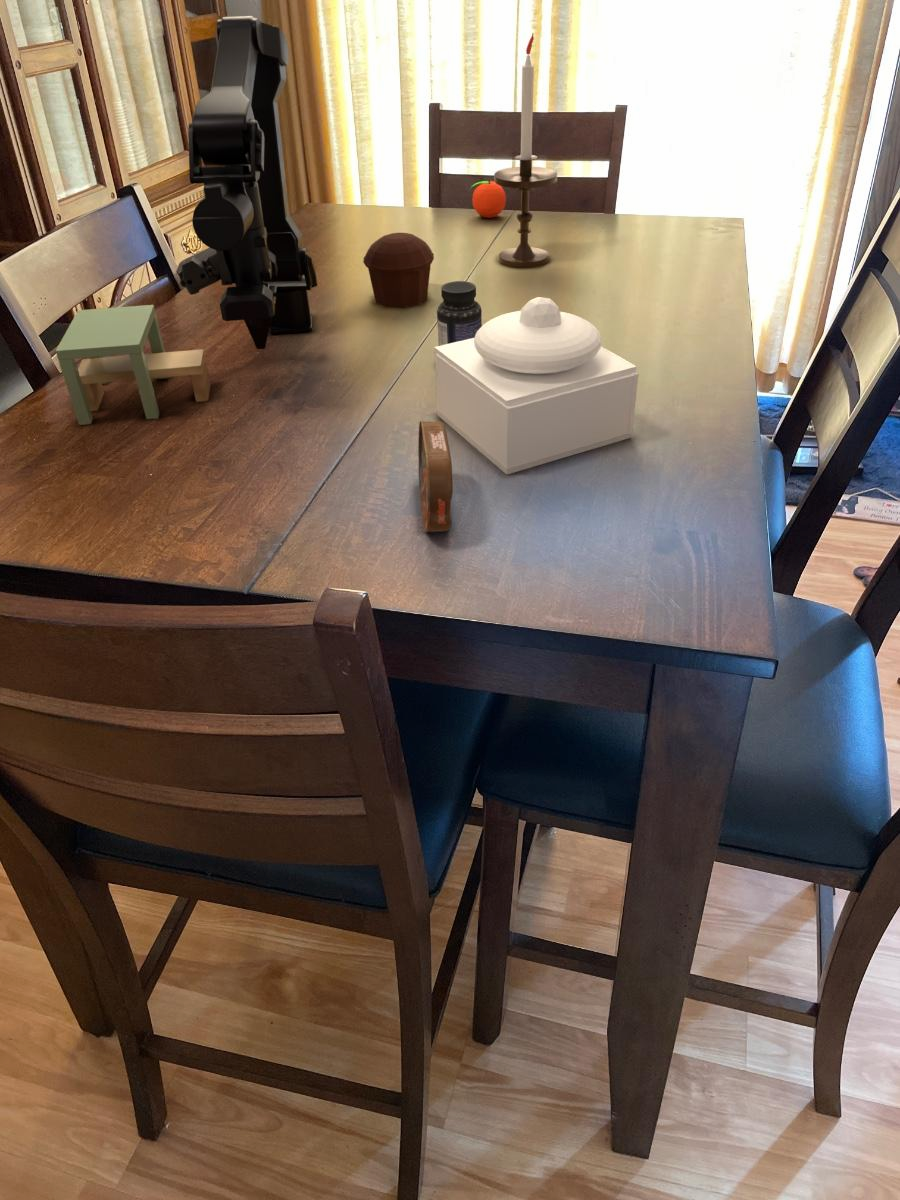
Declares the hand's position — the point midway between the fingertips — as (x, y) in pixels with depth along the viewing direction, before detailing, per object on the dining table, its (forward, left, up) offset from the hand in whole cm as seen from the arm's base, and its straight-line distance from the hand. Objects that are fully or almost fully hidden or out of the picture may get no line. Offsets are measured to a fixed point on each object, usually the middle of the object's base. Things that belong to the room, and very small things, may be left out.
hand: (261, 348), depth 117 cm
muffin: (-21, -31, -6) cm, 38 cm away
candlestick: (-45, -46, -6) cm, 65 cm away
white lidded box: (-33, +18, -6) cm, 38 cm away
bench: (+16, 0, -6) cm, 17 cm away
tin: (-19, +35, -6) cm, 40 cm away
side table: (+19, 0, -6) cm, 20 cm away
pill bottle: (-27, -2, -6) cm, 28 cm away
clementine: (-43, -75, -6) cm, 87 cm away
